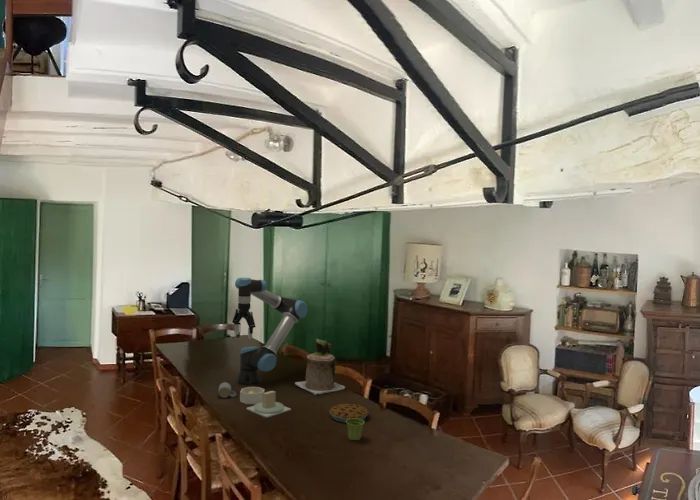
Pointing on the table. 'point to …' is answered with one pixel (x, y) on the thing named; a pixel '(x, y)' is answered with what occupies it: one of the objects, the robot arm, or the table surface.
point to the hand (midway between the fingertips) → (243, 336)
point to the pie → (348, 412)
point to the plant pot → (354, 428)
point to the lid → (269, 404)
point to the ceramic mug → (225, 390)
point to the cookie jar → (320, 371)
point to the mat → (268, 414)
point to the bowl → (251, 395)
